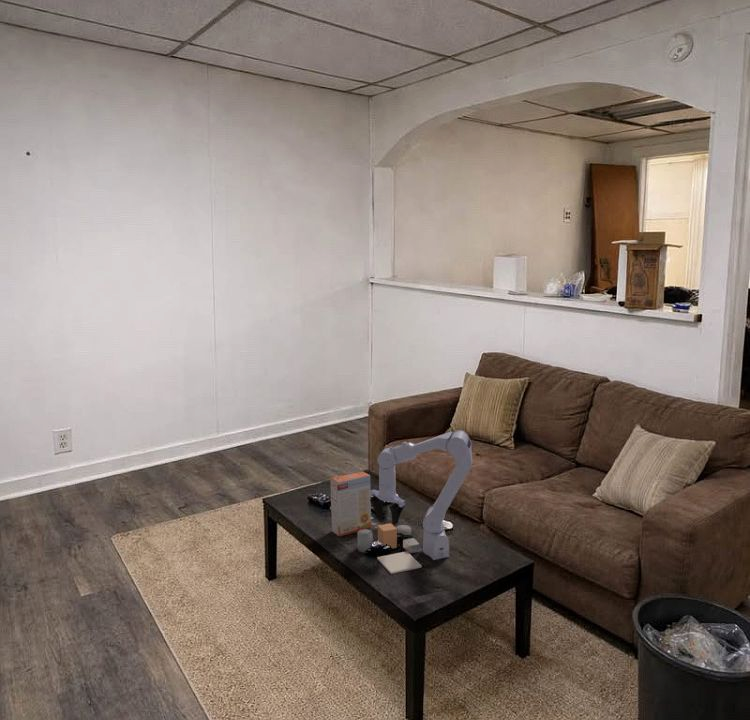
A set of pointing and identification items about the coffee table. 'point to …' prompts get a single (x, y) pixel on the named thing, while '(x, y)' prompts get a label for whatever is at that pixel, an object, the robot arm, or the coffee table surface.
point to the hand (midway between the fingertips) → (387, 520)
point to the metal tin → (411, 545)
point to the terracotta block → (387, 535)
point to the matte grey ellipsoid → (404, 529)
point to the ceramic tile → (399, 562)
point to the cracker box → (350, 503)
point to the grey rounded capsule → (364, 539)
